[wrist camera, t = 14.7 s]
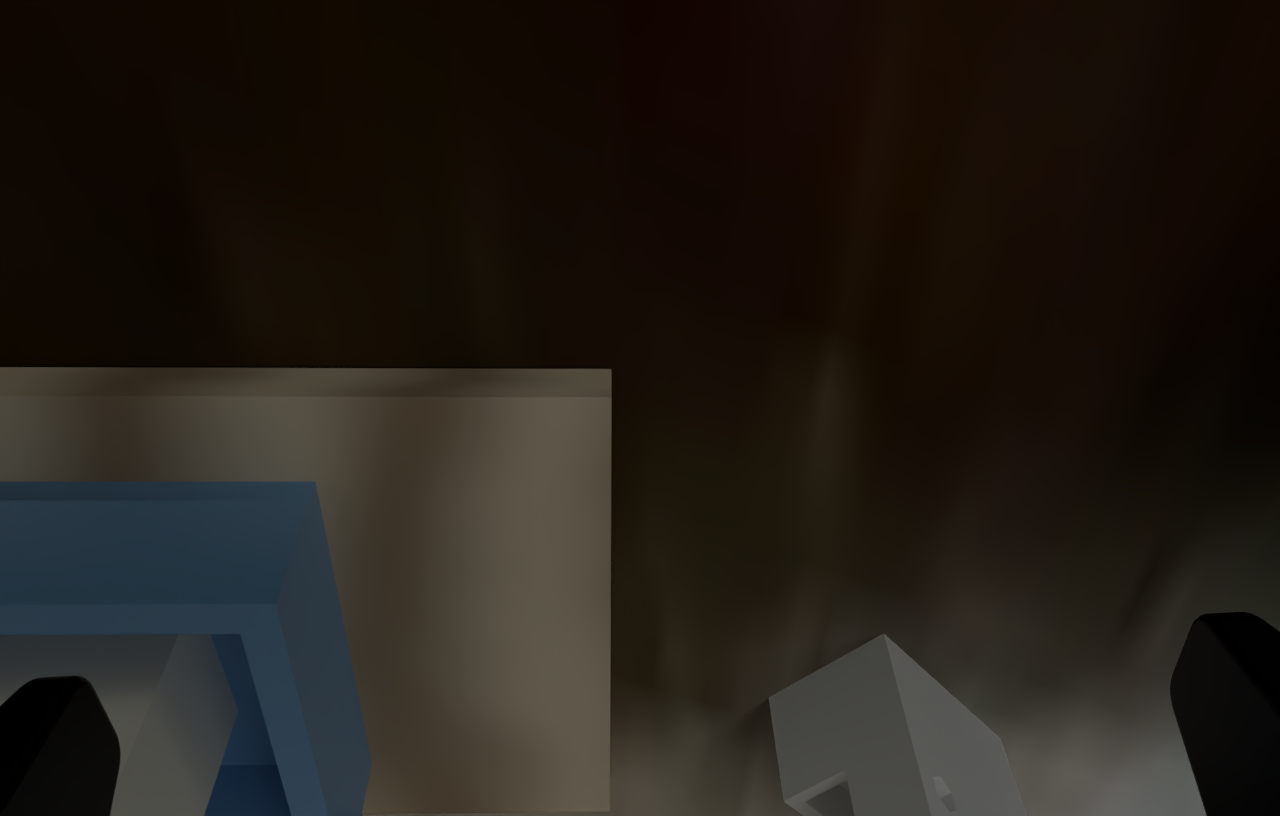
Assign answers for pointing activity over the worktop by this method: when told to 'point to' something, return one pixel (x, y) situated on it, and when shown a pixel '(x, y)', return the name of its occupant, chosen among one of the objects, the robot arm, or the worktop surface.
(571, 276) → the worktop surface
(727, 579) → the worktop surface
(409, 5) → the worktop surface
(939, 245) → the worktop surface
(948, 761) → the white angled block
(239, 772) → the box
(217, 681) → the connector column
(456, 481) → the board
